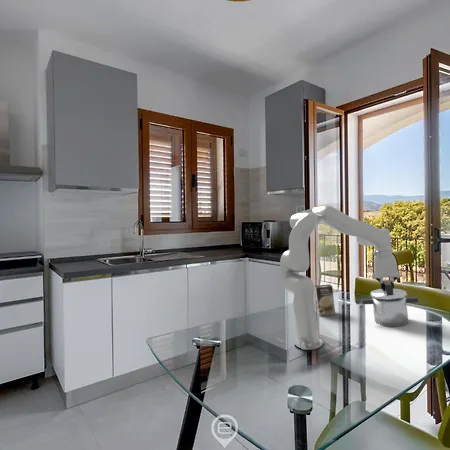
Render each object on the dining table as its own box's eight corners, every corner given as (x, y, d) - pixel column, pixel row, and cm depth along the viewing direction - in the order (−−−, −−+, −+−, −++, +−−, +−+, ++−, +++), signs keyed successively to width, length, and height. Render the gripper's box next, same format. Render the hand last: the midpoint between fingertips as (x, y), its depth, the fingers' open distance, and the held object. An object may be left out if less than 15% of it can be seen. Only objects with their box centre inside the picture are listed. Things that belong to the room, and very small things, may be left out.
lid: (410, 298, 151) (409, 285, 151) (373, 300, 156) (371, 287, 155) (402, 289, 166) (401, 278, 166) (368, 291, 171) (367, 280, 171)
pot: (415, 315, 165) (412, 292, 164) (424, 326, 150) (421, 300, 150) (362, 317, 172) (360, 294, 172) (366, 327, 158) (363, 303, 157)
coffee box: (319, 316, 182) (315, 288, 182) (317, 312, 188) (313, 285, 188) (335, 314, 181) (332, 286, 181) (333, 311, 187) (329, 283, 187)
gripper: (366, 256, 159) (371, 293, 160) (403, 253, 154) (408, 291, 155) (364, 254, 166) (369, 289, 167) (400, 251, 161) (404, 287, 162)
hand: (387, 290), depth 161 cm, fingers closed on lid, 3 cm apart
